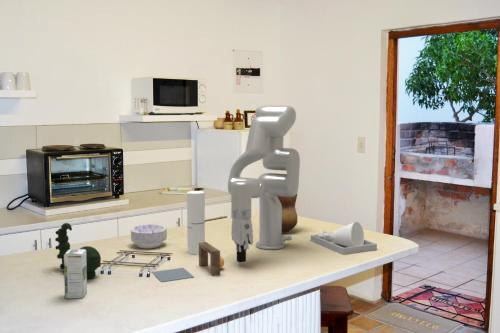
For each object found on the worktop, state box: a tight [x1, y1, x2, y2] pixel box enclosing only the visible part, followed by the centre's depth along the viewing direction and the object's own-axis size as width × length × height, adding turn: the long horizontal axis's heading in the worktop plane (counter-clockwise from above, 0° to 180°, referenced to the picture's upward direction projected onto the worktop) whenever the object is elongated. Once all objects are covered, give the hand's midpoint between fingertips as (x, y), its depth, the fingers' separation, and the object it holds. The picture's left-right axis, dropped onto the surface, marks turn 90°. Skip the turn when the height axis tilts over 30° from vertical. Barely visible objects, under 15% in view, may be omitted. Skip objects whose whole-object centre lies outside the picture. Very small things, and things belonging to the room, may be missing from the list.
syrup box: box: [63, 248, 88, 300], centre depth 170 cm, size 6×6×14 cm
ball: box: [220, 255, 225, 270], centre depth 199 cm, size 5×5×5 cm
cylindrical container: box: [186, 190, 206, 255], centre depth 221 cm, size 7×7×25 cm
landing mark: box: [151, 267, 195, 283], centre depth 192 cm, size 12×12×1 cm
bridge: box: [198, 241, 221, 277], centre depth 197 cm, size 3×14×9 cm, turn 26°
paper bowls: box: [130, 223, 168, 250], centre depth 231 cm, size 15×15×8 cm
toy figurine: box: [54, 222, 102, 280], centre depth 191 cm, size 9×19×25 cm
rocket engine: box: [318, 221, 365, 248], centre depth 232 cm, size 12×12×18 cm
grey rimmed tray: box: [309, 232, 378, 256], centre depth 233 cm, size 17×25×2 cm
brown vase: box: [277, 193, 298, 233], centre depth 256 cm, size 14×13×25 cm
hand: (241, 261), depth 203 cm, fingers closed
